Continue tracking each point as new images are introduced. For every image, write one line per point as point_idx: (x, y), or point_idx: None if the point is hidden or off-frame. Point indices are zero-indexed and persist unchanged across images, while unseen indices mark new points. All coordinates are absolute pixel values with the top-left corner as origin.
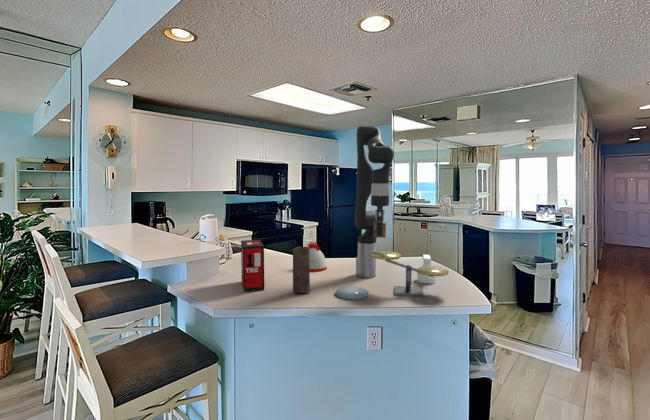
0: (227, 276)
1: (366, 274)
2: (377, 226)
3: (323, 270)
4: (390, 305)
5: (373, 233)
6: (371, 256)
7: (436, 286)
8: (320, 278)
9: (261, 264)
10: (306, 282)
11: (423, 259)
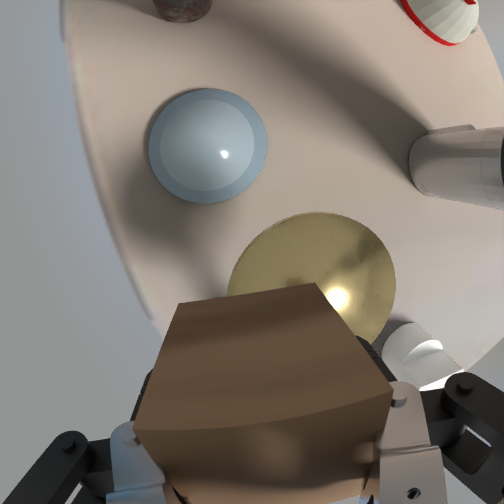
0: None
1: (415, 167)
2: (128, 431)
3: (427, 34)
4: (147, 283)
5: None
6: (278, 222)
7: None
8: (351, 23)
9: None
10: (160, 4)
11: (441, 370)
